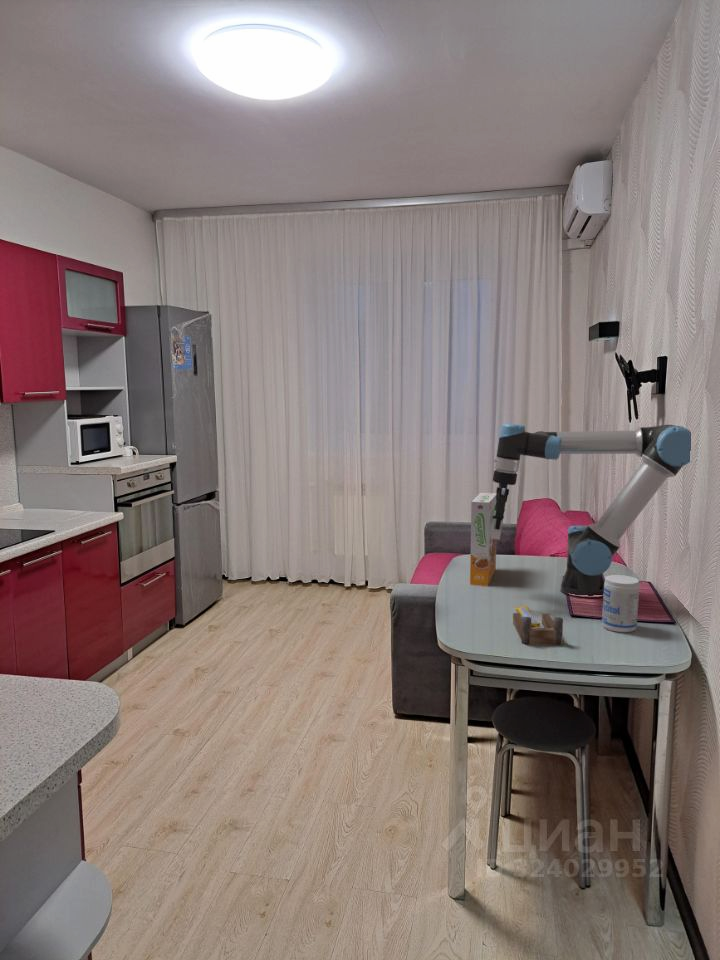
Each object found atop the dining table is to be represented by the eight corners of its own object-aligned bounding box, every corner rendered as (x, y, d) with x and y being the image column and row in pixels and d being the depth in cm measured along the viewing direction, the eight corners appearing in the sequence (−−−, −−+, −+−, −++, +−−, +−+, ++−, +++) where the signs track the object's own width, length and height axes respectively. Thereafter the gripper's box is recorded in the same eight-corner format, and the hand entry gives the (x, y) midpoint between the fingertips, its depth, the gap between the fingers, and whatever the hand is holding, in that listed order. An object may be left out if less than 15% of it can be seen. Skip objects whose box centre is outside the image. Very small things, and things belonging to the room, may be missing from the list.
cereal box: (487, 585, 247) (489, 502, 243) (470, 584, 248) (471, 501, 245) (495, 570, 268) (497, 493, 264) (479, 569, 270) (480, 492, 266)
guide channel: (549, 623, 207) (549, 600, 206) (563, 645, 189) (563, 620, 188) (512, 622, 207) (512, 600, 207) (522, 644, 190) (523, 619, 189)
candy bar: (541, 629, 203) (541, 623, 203) (526, 629, 203) (526, 623, 203) (528, 611, 220) (528, 605, 220) (514, 611, 220) (515, 605, 220)
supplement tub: (595, 627, 203) (597, 578, 201) (611, 620, 210) (613, 572, 208) (627, 636, 196) (630, 585, 194) (642, 628, 202) (645, 578, 201)
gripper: (494, 465, 238) (484, 525, 242) (494, 474, 214) (483, 540, 217) (516, 468, 237) (506, 528, 240) (518, 477, 213) (507, 544, 216)
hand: (495, 534), depth 229 cm, fingers open, 13 cm apart
